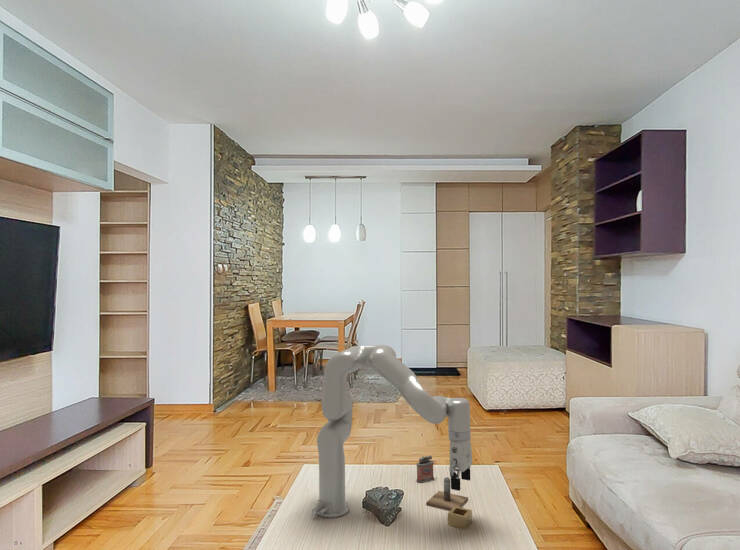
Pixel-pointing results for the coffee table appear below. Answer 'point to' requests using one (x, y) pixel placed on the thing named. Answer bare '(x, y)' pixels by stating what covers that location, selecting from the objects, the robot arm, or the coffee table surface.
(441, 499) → the stacked peg stand
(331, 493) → the robot arm
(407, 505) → the coffee table surface
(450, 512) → the collar
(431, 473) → the lighter
